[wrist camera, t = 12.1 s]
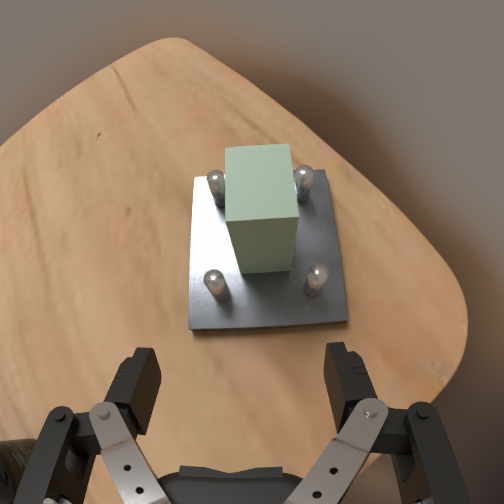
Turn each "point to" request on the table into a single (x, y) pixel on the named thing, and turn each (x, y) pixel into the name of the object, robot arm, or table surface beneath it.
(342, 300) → the plate
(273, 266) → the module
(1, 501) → the supplement bottle
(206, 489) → the robot arm
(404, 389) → the table surface
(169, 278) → the table surface
